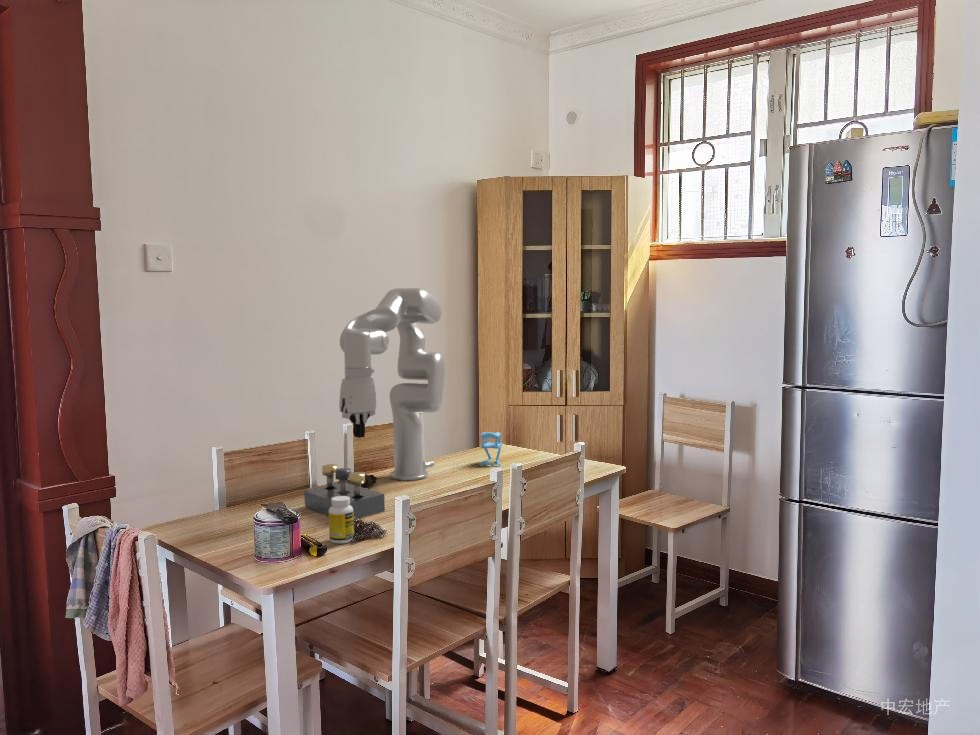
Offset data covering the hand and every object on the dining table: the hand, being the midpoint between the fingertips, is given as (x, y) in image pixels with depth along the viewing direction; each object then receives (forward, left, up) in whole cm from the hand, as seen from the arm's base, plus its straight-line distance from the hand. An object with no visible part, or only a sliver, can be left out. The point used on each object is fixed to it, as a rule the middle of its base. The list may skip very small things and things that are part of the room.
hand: (359, 436), depth 229 cm
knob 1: (+4, -9, -17) cm, 20 cm away
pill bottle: (+20, +21, -21) cm, 36 cm away
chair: (-65, -12, -21) cm, 69 cm away
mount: (+4, -2, -21) cm, 22 cm away
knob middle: (+4, -2, -17) cm, 18 cm away
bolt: (-11, -17, -22) cm, 30 cm away
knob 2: (+4, +5, -17) cm, 18 cm away
